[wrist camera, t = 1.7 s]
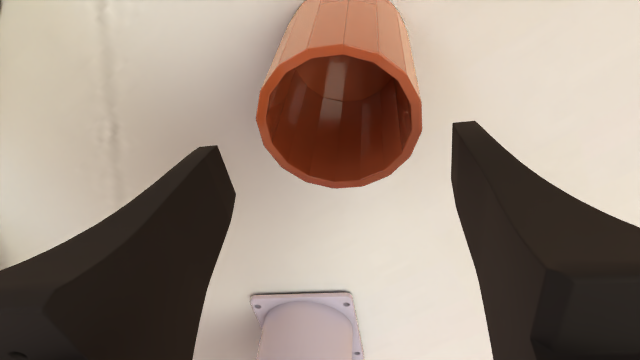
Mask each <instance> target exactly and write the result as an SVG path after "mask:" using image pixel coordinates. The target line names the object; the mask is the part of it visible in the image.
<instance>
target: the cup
mask: <svg viewBox="0 0 640 360" xmlns="http://www.w3.org/2000/svg"><path fill="white" fill-rule="evenodd" d="M256 121H257V125H258V128H259V131H260V135H261V138H262V141H263V145H264V146H265V148H266V149H267V150H268V151H269V153H270V154H271V155H272V156H273V158H274V159H275V160H276V161H277V162H278V164H279V165H280V166H281V167H282V168H283V169H285V170H287V171H288V172H290V173H292V174H293V175H295V176H297V177H298V178H300V179H302V180H303V181H305V182H308V183H312V184H317V185H321V186H325V187H330V188H348V187H362V186H365V185H368V184H370V183H372V182H375V181H377V180H380V179H382V178H385V177H387V176H389V175H391V174H392V173H393V172H394V171H395V170H396V169H397V168H398V167H399V166H401V165H402V164H403V163H404V162H405V161H406V160H407V159H408V158H409V157H410V156H411V154H412V152H413V150H414V147H415V145H416V143H417V141H418V139H419V136H420V134H421V132H422V105H421V98H420V93H419V88H418V83H417V78H416V73H415V68H414V63H413V58H412V52H411V47H410V42H409V37H408V33H407V30H406V28H405V25H404V22H403V20H402V17H401V16H400V14H399V12H398V11H397V9H396V8H395V7H394V5H393V4H392V3H391V2H390V1H389V0H306V1H305V2H304V3H302V4H301V6H300V7H299V8H298V10H297V11H296V13H295V14H294V16H293V18H292V20H291V21H290V23H289V24H288V27H287V29H286V31H285V34H284V36H283V38H282V41H281V43H280V45H279V48H278V50H277V52H276V55H275V57H274V60H273V62H272V64H271V67H270V69H269V71H268V74H267V76H266V78H265V81H264V83H263V85H262V88H261V90H260V94H259V101H258V108H257V114H256Z"/></svg>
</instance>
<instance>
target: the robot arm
mask: <svg viewBox="0 0 640 360" xmlns="http://www.w3.org/2000/svg"><path fill="white" fill-rule="evenodd" d="M451 181H452V187H453V193H454V198H455V204H456V208H457V212H458V215H459V218H460V221H461V225H462V228H463V231H464V234H465V237H466V240H467V244H468V247H469V250H470V253H471V256H472V259H473V262H474V266H475V269H476V273H477V276H478V280H479V285H480V290H481V295H482V300H483V305H484V310H485V315H486V320H487V326H488V331H489V337H490V342H491V348H492V353H493V359H494V360H640V228H639V227H637V226H634V225H632V224H629V223H627V222H624V221H622V220H620V219H617V218H615V217H613V216H611V215H608V214H606V213H604V212H602V211H600V210H598V209H596V208H594V207H592V206H590V205H588V204H586V203H584V202H582V201H580V200H578V199H576V198H574V197H572V196H571V195H569V194H567V193H566V192H564V191H562V190H561V189H559V188H557V187H556V186H554V185H552V184H551V183H549V182H548V181H546V180H545V179H543V178H542V177H540V176H539V175H537V174H536V173H535V172H533V171H532V170H530V169H529V168H528V167H526V166H525V165H524V164H522V163H521V162H520V161H519V160H517V159H516V158H515V157H514V156H513V155H512V154H510V153H509V152H508V151H507V150H506V149H505V148H503V147H502V146H501V145H500V144H499V143H498V142H497V141H496V140H495V139H494V138H493V137H492V136H490V135H489V134H488V133H487V132H486V131H485V130H484V129H483V128H482V127H481V126H480V125H479V124H478V123H477V122H476V121H468V122H458V123H453V129H452V166H451ZM235 197H236V193H235V191H234V188H233V185H232V183H231V180H230V178H229V175H228V172H227V170H226V167H225V164H224V162H223V159H222V157H221V154H220V151H219V149H218V146H217V145H216V146H205V147H199V148H197V149H196V150H194V151H193V152H192V153H190V154H189V155H188V156H186V157H185V158H184V159H183V160H182V161H180V162H179V163H178V164H177V165H176V166H174V167H173V168H172V169H171V170H170V171H168V172H167V173H166V174H165V175H164V176H162V177H161V178H160V179H159V180H158V181H156V182H155V183H154V184H153V185H151V186H150V187H149V188H148V189H146V190H145V191H144V192H142V193H141V194H140V195H138V196H137V197H136V198H135V199H133V200H132V201H131V202H129V203H128V204H127V205H125V206H124V207H122V208H121V209H119V210H118V211H117V212H115V213H114V214H112V215H110V216H109V217H107V218H106V219H104V220H103V221H101V222H99V223H98V224H96V225H95V226H93V227H91V228H89V229H87V230H86V231H84V232H82V233H80V234H78V235H77V236H75V237H73V238H71V239H69V240H68V241H66V242H64V243H62V244H60V245H58V246H56V247H54V248H52V249H50V250H48V251H46V252H44V253H41V254H39V255H37V256H35V257H33V258H30V259H28V260H26V261H23V262H21V263H19V264H16V265H14V266H11V267H9V268H6V269H4V270H1V271H0V360H192V359H193V353H194V347H195V342H196V337H197V332H198V327H199V322H200V317H201V313H202V309H203V304H204V300H205V296H206V292H207V288H208V285H209V282H210V278H211V276H212V273H213V270H214V267H215V264H216V262H217V259H218V256H219V253H220V251H221V248H222V245H223V242H224V239H225V237H226V234H227V231H228V228H229V225H230V222H231V218H232V213H233V208H234V202H235ZM250 304H251V306H252V308H253V310H254V313H255V315H256V317H257V319H258V322H259V324H260V326H261V328H262V335H261V339H260V344H259V349H258V353H257V358H256V360H364V353H363V348H362V343H361V337H360V332H359V327H358V322H357V317H356V312H355V307H354V302H353V297H352V295H351V294H350V293H346V292H343V293H309V294H276V295H253V296H251V298H250Z"/></svg>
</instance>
